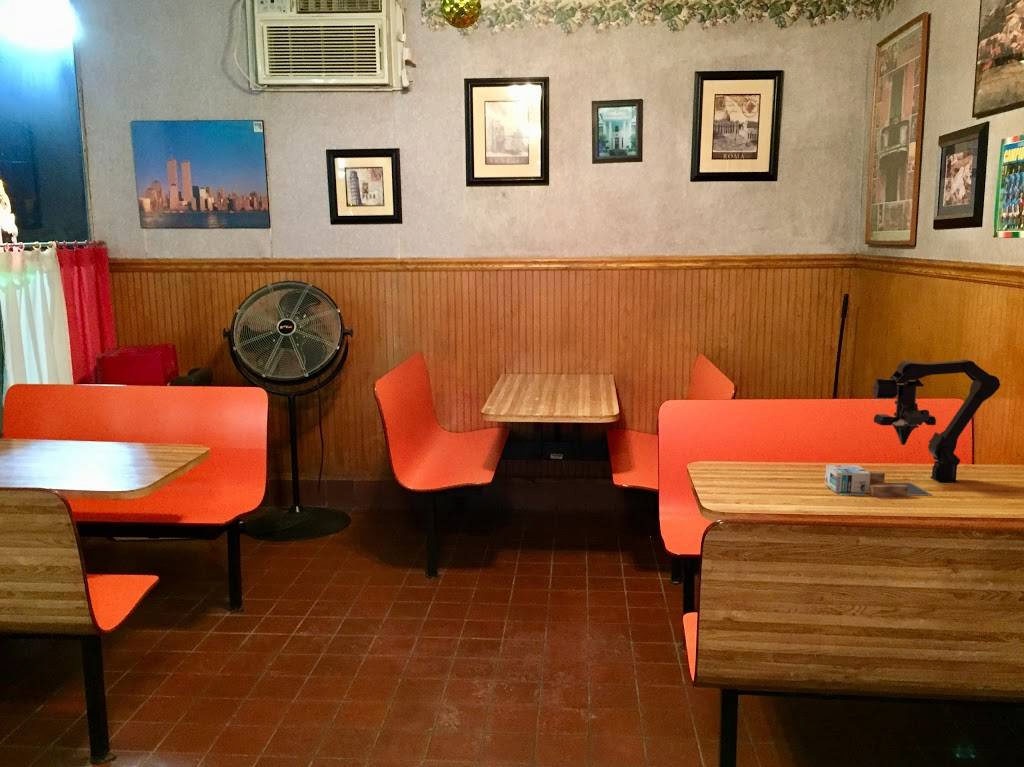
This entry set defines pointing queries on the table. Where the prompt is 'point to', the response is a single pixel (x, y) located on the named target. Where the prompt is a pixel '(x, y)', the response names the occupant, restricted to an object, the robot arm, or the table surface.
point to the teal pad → (850, 493)
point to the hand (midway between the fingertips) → (902, 444)
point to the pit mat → (912, 489)
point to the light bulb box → (847, 478)
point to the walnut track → (885, 487)
